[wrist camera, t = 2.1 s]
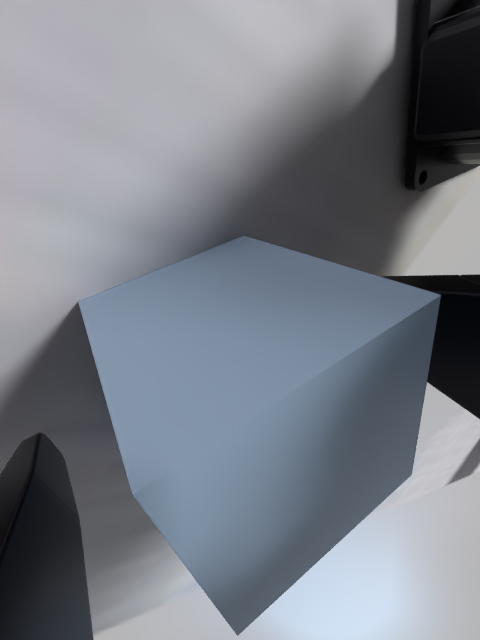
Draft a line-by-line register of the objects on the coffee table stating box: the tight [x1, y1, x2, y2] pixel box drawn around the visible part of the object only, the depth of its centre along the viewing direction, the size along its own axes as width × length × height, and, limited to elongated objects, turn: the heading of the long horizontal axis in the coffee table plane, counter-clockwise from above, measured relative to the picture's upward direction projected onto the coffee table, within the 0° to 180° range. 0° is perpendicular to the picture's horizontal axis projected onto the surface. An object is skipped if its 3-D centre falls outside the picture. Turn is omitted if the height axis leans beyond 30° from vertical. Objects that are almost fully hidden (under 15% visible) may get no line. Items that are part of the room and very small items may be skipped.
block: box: [78, 236, 441, 635], centre depth 8 cm, size 5×5×6 cm
